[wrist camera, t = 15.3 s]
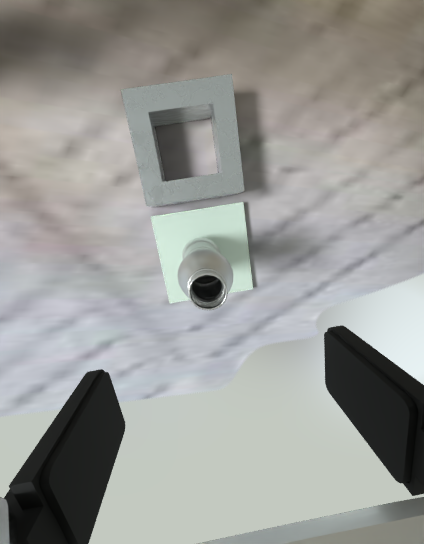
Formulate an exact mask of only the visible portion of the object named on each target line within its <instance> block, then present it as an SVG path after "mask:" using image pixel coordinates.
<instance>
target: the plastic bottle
mask: <svg viewBox="0 0 424 544" xmlns="http://www.w3.org/2000/svg"><path fill="white" fill-rule="evenodd" d="M177 275H178V282H179V286H180V288H181V290H182V291H183V292H184V293H185V295H186V296H187V297H189V298H190V300H191V302H192V303H193V304H194V305H195V306H196V307H198V308H200V309H203V310H214V309H216V308H218V307H220V306H221V305H222V304H223V303H224V302H225V300H226V298H227V294H228V293H229V291H230V289H231V287H232V284H233V278H234V274H233V269H232V267H231V265H230V263H229V262H228V260H227V259H226V258H225V257H224V256H223V255H221V252H220V249H219V247H218V246H217V245H216V244H215V243H214V242H213V241H212V240H210V239H207V238H195V239H193V240H191V241H189V242H188V243H187V244H186V245H185V247H184V249H183V253H182V262H181V264H180V266H179V269H178V274H177Z"/></svg>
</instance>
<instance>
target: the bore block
mask: <svg viewBox="0 0 424 544" xmlns="http://www.w3.org/2000/svg"><path fill="white" fill-rule="evenodd" d="M121 93H122V98H123V102H124V107H125V111H126V116H127V120H128V125H129V129H130V134H131V138H132V143H133V147H134V152H135V156H136V161H137V165H138V170H139V174H140V179H141V183H142V188H143V192H144V197H145V201H146V206H148V207H158V206H164V205H171V204H177V203H183V202H190V201H196V200H202V199H209V198H215V197H222V196H228V195H234V194H239V193H241V192H243V191H244V182H243V172H242V163H241V154H240V145H239V136H238V126H237V117H236V108H235V99H234V90H233V80H232V74H229V75H222V76H215V77H207V78H200V79H193V80H186V81H179V82H171V83H164V84H157V85H150V86H143V87H135V88H128V89H121ZM209 118H211V124H212V131H213V138H214V146H215V153H216V161H217V168H218V173H217V174H211V175H204V176H198V177H191V178H185V179H178V180H171V181H165V176H164V171H163V166H162V161H161V156H160V151H159V145H158V140H157V135H156V130H155V126H161V125H168V124H175V123H182V122H189V121H195V120H202V119H209Z"/></svg>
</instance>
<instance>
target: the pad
mask: <svg viewBox="0 0 424 544" xmlns="http://www.w3.org/2000/svg"><path fill="white" fill-rule="evenodd" d="M151 221H152V225H153V230H154V234H155V239H156V243H157V248H158V252H159V257H160V262H161V266H162V271H163V275H164V280H165V284H166V289H167V293H168V298H169V303H175V302H181V301H187V300H190V298H189V297H187V296H186V295H185V293H184V292H183V291H182V290H181V288H180V286H179V282H178V275H177V274H178V269H179V266H180V264H181V262H182V253H183V249H184V247H185V245H186V244H187V243H188V242H189V241H191V240H193V239H195V238H207V239H210V240H212V241H213V242H214V243H215V244H216V245H217V246H218V247H219V249H220V252H221V255H223V256H224V257H225V258H226V259H227V260H228V262H229V263H230V265H231V267H232V269H233V274H234V278H233V284H232V287H231V289H230V291H229V293H233V292H239V291H245V290H251V289H253V284H252V275H251V266H250V257H249V248H248V239H247V231H246V222H245V213H244V204H243V202H240V203H234V204H228V205H221V206H215V207H209V208H202V209H196V210H190V211H183V212H177V213H171V214H164V215H158V216H152V217H151Z"/></svg>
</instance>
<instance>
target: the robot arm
mask: <svg viewBox="0 0 424 544" xmlns="http://www.w3.org/2000/svg"><path fill="white" fill-rule="evenodd" d="M324 342H325V343H324V344H325V383H326V387H327V390H328V391H329V393H330V394H331V396H332V397H333V398H334V400H335V401H336V402H337V404H338V405H339V406H340V408H341V409H342V410H343V412H344V413H345V414H346V415H347V417H348V418H349V419H350V421H351V422H352V423H353V425H354V426H355V427H356V429H357V430H358V431H359V433H360V434H361V435H362V437H363V438H364V439H365V440H366V442H367V443H368V445H369V446H370V447H371V449H372V450H373V451H374V452H375V454H376V455H377V456H378V458H379V459H380V460H381V462H382V463H383V464H384V466H385V467H386V468H387V469H388V471H389V472H390V473H391V475H392V476H393V477H394V478H395V480H396V481H398V482H399V483H403V484H404V485H405V486H406V488H407V489H408V490H409V492H410V493H411V494H412V496H415V495H419V494H424V385H423V384H421V383H420V382H419V381H417V380H416V379H414V378H413V377H412V376H411V375H409V374H408V373H406V372H405V371H404V370H402V369H401V368H400V367H398V366H397V365H396V364H394V363H393V362H392V361H390V360H389V359H388V358H386V357H385V356H384V355H382V354H381V353H379V352H378V351H377V350H376V349H374V348H373V347H372V346H370V345H369V344H367V343H366V342H365V341H363V340H362V339H361V338H359V337H358V336H357V335H355V334H354V333H353V332H351V331H350V330H349V329H347V328H346V327H344V326H336V327H331V328H328V331H327V332H325V334H324ZM124 431H125V421H124V418H123V415H122V412H121V409H120V406H119V403H118V400H117V396H116V393H115V390H114V387H113V384H112V381H111V378H110V375H109V373H108V372H105V371H104V370H102V369H101V370H96V371H90V372H87V373H86V374H85V376H84V377H83V379H82V380H81V381H80V383H79V384H78V386H77V387H76V389H75V390H74V392H73V393H72V395H71V396H70V398H69V399H68V400H67V402H66V403H65V405H64V406H63V408H62V409H61V411H60V412H59V414H58V415H57V416H56V418H55V419H54V421H53V422H52V424H51V425H50V427H49V428H48V430H47V431H46V433H45V434H44V436H43V437H42V438H41V440H40V441H39V443H38V444H37V446H36V447H35V449H34V450H33V452H32V453H31V455H30V456H29V457H28V459H27V460H26V462H25V463H24V465H23V466H22V468H21V469H20V471H19V472H18V473H17V475H16V477H15V478H14V479H13V481H12V482H11V484H10V485H9V487H10V490H9V492H8V493H7V494H6V496H5V497H4V498H2V497H0V544H88V543H89V540H90V537H91V534H92V531H93V528H94V525H95V522H96V518H97V515H98V512H99V509H100V506H101V503H102V499H103V497H104V493H105V491H106V487H107V484H108V481H109V478H110V475H111V472H112V469H113V466H114V463H115V459H116V457H117V453H118V450H119V447H120V444H121V441H122V438H123V435H124ZM198 544H424V497H421V498H415V499H410V500H404V501H399V502H393V503H388V504H383V505H378V506H374V507H369V508H364V509H359V510H354V511H349V512H344V513H340V514H335V515H330V516H325V517H320V518H316V519H310V520H306V521H301V522H296V523H291V524H287V525H283V526H277V527H273V528H268V529H263V530H258V531H254V532H249V533H244V534H240V535H235V536H231V537H226V538H221V539H216V540H212V541H207V542H203V543H198Z"/></svg>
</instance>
